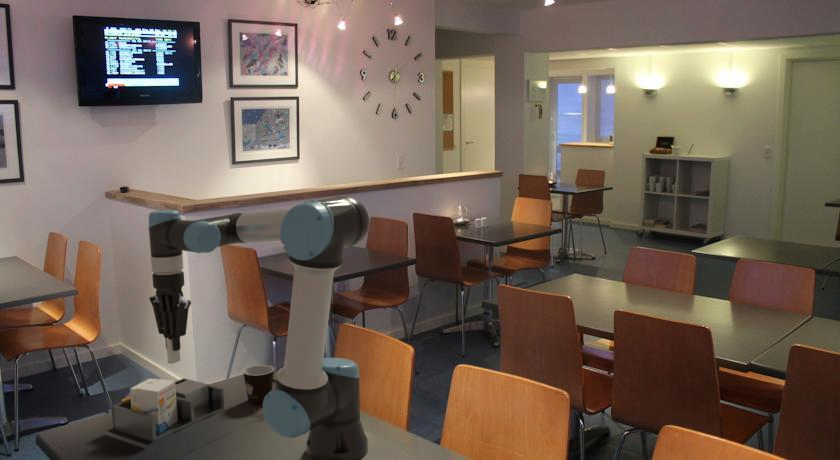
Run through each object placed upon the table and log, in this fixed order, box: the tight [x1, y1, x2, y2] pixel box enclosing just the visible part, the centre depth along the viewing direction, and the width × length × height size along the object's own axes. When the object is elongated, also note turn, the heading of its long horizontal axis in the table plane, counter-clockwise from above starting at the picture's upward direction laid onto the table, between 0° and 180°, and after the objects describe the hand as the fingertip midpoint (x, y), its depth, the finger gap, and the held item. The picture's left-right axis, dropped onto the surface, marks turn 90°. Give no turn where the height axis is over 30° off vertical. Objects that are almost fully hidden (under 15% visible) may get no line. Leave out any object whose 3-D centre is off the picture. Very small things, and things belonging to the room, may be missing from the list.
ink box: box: [129, 378, 178, 434], centre depth 195 cm, size 9×8×12 cm
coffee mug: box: [242, 364, 276, 406], centre depth 210 cm, size 12×9×10 cm
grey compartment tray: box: [111, 377, 225, 443], centre depth 200 cm, size 16×24×8 cm
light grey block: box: [175, 379, 209, 415], centre depth 205 cm, size 8×8×7 cm
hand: (174, 361), depth 188 cm, fingers closed
